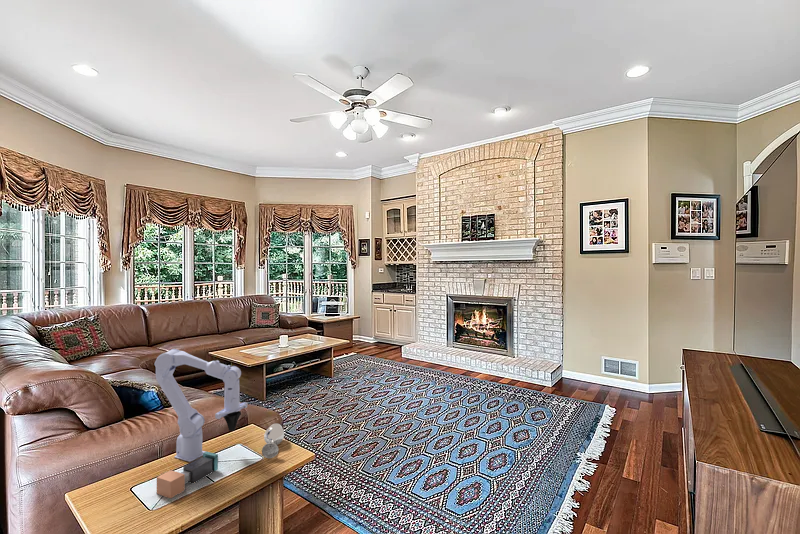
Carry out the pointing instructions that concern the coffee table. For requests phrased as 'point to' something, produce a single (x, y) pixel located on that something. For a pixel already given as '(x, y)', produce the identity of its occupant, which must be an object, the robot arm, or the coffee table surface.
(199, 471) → the dark grey rectangular bar
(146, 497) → the coffee table surface
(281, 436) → the wineglass
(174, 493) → the orange brown block
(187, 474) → the grey and teal block
